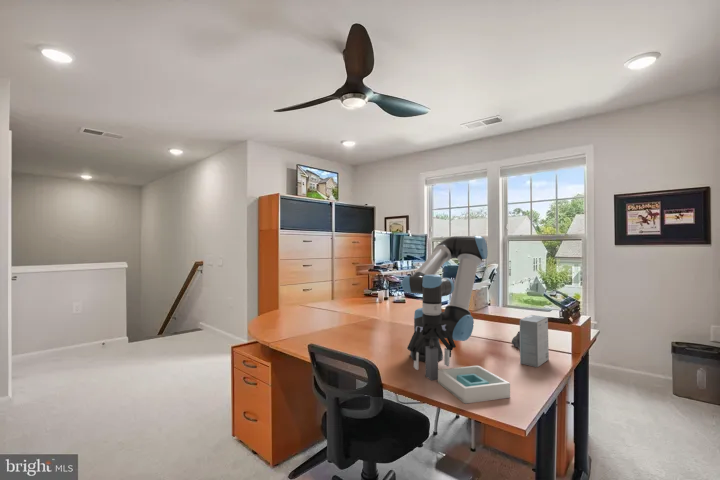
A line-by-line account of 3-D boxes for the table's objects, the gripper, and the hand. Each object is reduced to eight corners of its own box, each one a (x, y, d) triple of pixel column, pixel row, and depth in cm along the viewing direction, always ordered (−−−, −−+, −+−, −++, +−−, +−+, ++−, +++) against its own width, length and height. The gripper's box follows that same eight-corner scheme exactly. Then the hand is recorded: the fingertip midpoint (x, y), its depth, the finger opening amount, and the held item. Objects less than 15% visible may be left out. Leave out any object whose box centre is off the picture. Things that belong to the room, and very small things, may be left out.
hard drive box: (531, 356, 162) (531, 314, 163) (549, 359, 157) (548, 317, 157) (519, 363, 151) (519, 319, 152) (537, 368, 146) (537, 321, 146)
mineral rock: (511, 343, 183) (511, 325, 183) (533, 346, 178) (533, 327, 178) (511, 350, 171) (511, 330, 171) (535, 353, 166) (535, 333, 167)
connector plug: (425, 376, 135) (425, 338, 136) (432, 375, 136) (432, 338, 137) (430, 380, 131) (430, 341, 131) (438, 379, 132) (438, 341, 132)
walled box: (437, 382, 129) (437, 369, 129) (478, 378, 134) (478, 365, 134) (464, 403, 112) (464, 388, 112) (510, 397, 116) (510, 383, 117)
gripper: (407, 316, 127) (406, 373, 127) (464, 313, 134) (464, 367, 134) (399, 313, 134) (399, 366, 134) (454, 310, 141) (454, 361, 141)
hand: (431, 367), depth 134 cm, fingers open, 13 cm apart
